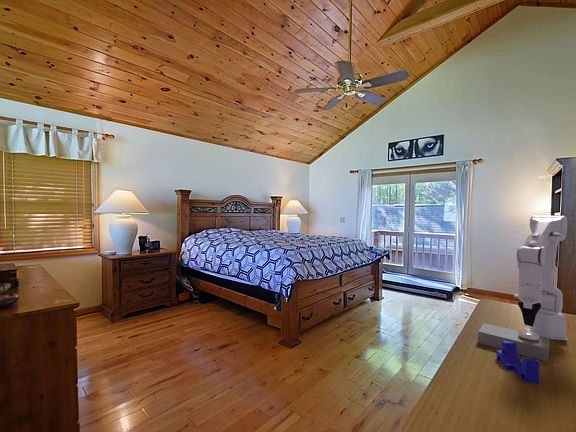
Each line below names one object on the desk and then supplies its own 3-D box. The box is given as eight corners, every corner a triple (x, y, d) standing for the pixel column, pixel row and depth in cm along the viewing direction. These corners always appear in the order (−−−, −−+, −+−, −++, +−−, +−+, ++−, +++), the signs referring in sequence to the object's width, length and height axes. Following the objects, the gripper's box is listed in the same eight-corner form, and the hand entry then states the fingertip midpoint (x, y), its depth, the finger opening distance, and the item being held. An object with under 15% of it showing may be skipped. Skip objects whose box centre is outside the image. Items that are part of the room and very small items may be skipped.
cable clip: (496, 359, 90) (496, 340, 89) (512, 361, 89) (513, 341, 89) (519, 382, 78) (520, 360, 78) (538, 384, 77) (539, 362, 77)
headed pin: (532, 345, 97) (532, 331, 97) (542, 353, 92) (543, 337, 92) (514, 344, 98) (515, 329, 98) (524, 352, 93) (524, 336, 93)
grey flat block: (549, 350, 95) (549, 338, 95) (548, 361, 88) (548, 348, 88) (483, 333, 107) (483, 323, 107) (478, 342, 100) (478, 331, 100)
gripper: (516, 277, 102) (515, 315, 103) (511, 285, 92) (510, 328, 92) (543, 281, 98) (542, 321, 98) (541, 289, 87) (540, 334, 87)
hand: (528, 325), depth 95 cm, fingers closed
